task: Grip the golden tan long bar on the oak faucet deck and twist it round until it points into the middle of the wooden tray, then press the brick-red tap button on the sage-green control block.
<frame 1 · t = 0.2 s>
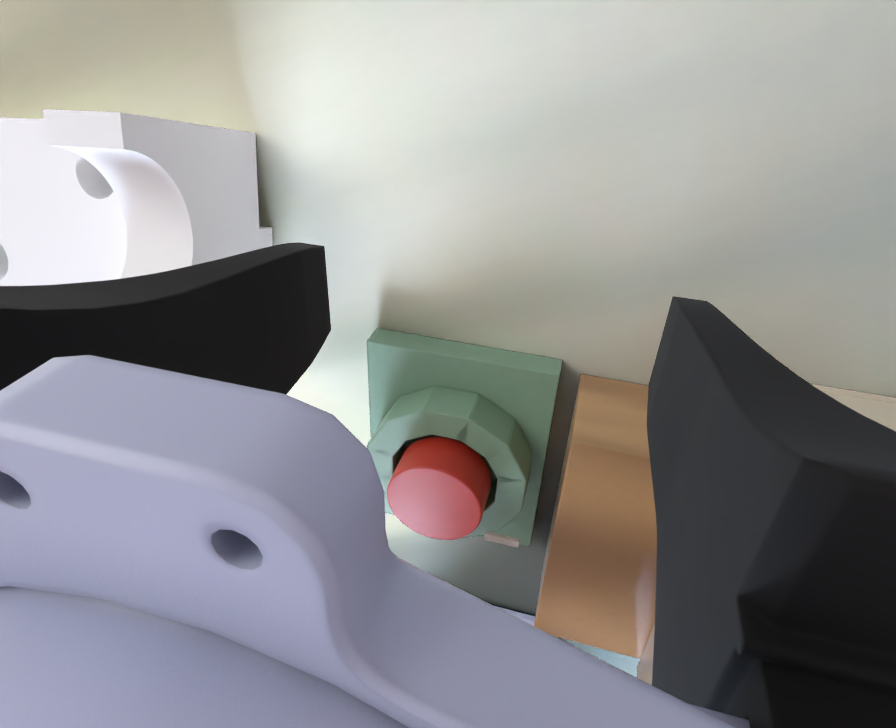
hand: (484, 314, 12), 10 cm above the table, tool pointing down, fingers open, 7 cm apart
bracket: (134, 192, 25), on the table
tap button: (439, 488, 24), point 4 cm above the table, slide at 0.1 cm
tap control: (460, 435, 27), on the table
golden tan long bar: (700, 635, 20), point 7 cm above the table, hinge at 0.0°
wooden tray: (894, 542, 24), on the table
faucet deck: (651, 491, 26), on the table
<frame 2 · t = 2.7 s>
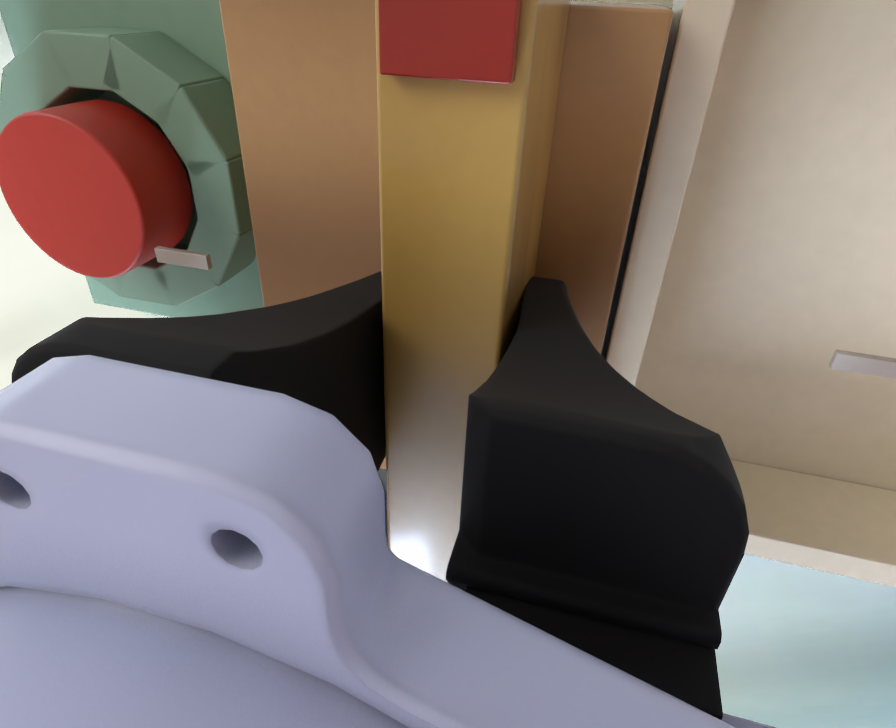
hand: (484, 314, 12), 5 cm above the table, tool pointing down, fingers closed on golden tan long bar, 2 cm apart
tap button: (99, 190, 15), point 4 cm above the table, slide at 0.1 cm
tap control: (187, 158, 18), on the table
golden tan long bar: (464, 354, 11), point 7 cm above the table, hinge at 0.0°, touching gripper
wooden tray: (847, 275, 15), on the table
faucet deck: (468, 226, 16), on the table
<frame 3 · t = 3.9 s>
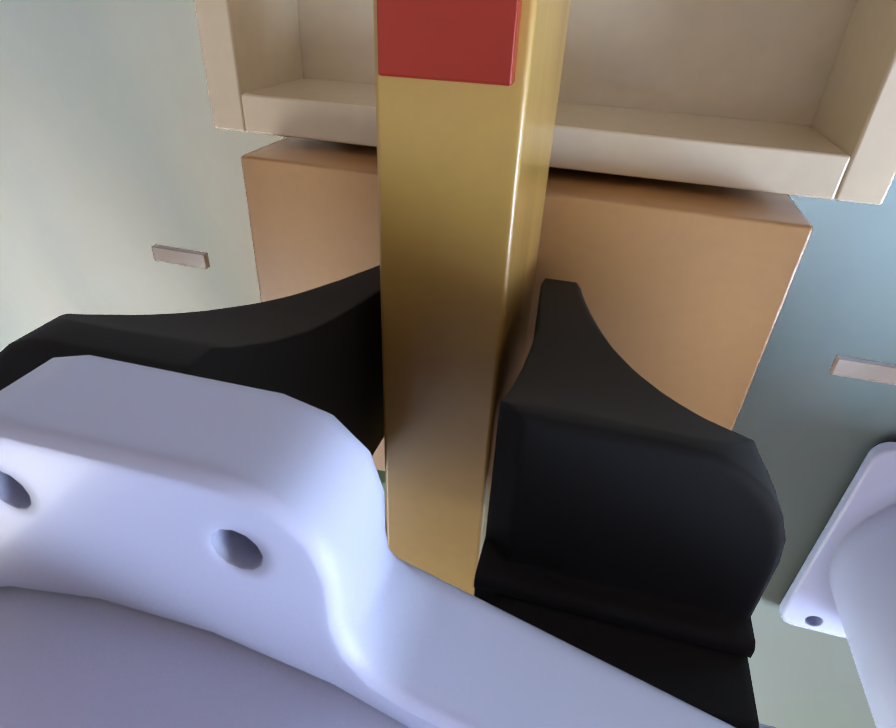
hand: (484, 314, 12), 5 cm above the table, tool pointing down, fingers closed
golden tan long bar: (464, 357, 11), point 7 cm above the table, hinge at -89.5°
faucet deck: (515, 284, 17), on the table
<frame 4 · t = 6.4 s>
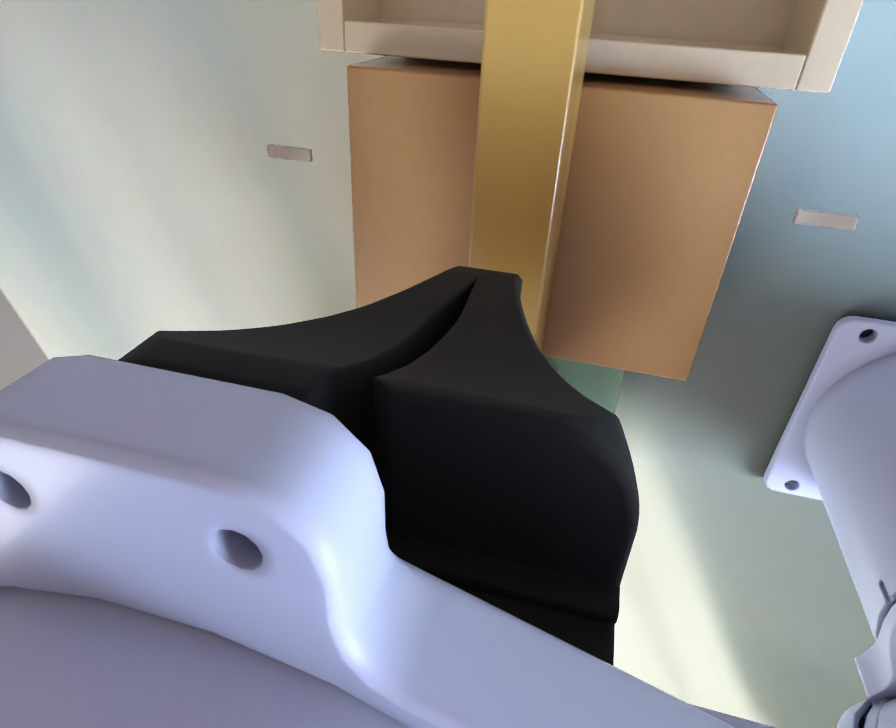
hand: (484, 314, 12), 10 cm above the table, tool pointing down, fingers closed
tap control: (495, 388, 26), on the table
golden tan long bar: (522, 205, 14), point 7 cm above the table, hinge at -89.5°
faucet deck: (546, 191, 21), on the table
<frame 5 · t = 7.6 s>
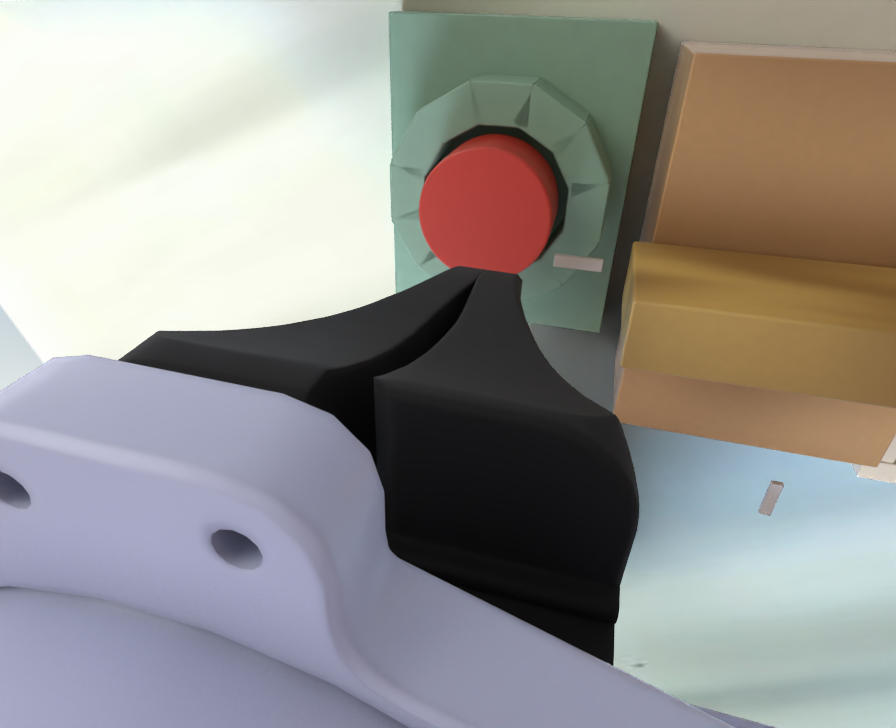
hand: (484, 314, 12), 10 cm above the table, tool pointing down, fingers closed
tap button: (489, 208, 18), point 4 cm above the table, slide at 0.1 cm
tap control: (509, 178, 21), on the table
golden tan long bar: (888, 334, 14), point 7 cm above the table, hinge at -89.5°
faucet deck: (767, 233, 20), on the table
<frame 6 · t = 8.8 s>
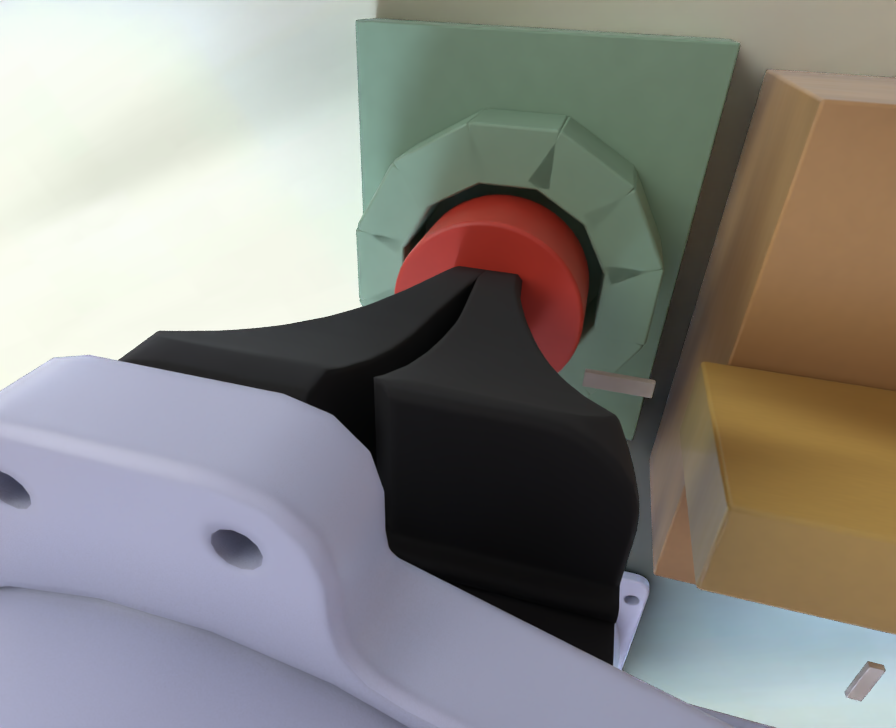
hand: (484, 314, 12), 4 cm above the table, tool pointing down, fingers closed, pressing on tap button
tap button: (493, 296, 13), point 4 cm above the table, slide at 0.1 cm, touching gripper
tap control: (519, 241, 16), on the table
faucet deck: (864, 326, 15), on the table
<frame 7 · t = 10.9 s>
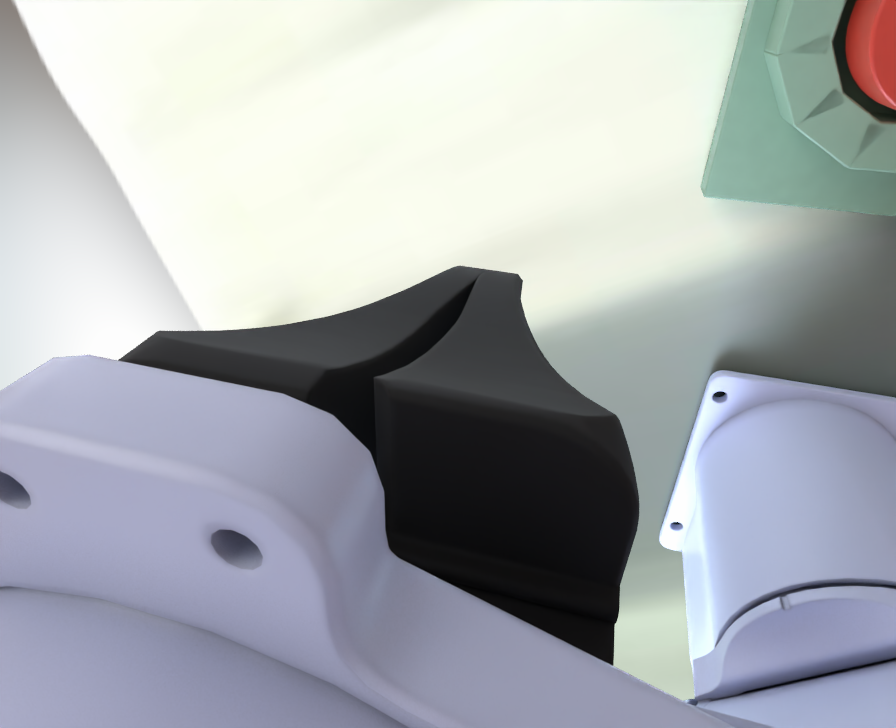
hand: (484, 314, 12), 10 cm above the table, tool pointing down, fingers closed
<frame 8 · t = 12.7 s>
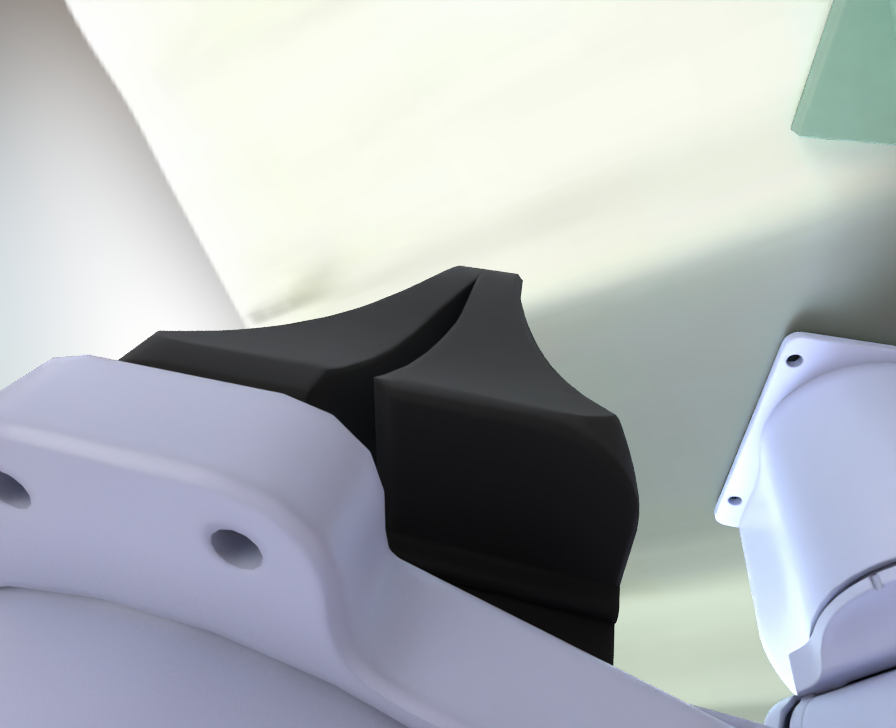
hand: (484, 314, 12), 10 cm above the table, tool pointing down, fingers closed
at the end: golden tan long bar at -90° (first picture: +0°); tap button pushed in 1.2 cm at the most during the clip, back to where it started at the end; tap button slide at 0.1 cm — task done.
